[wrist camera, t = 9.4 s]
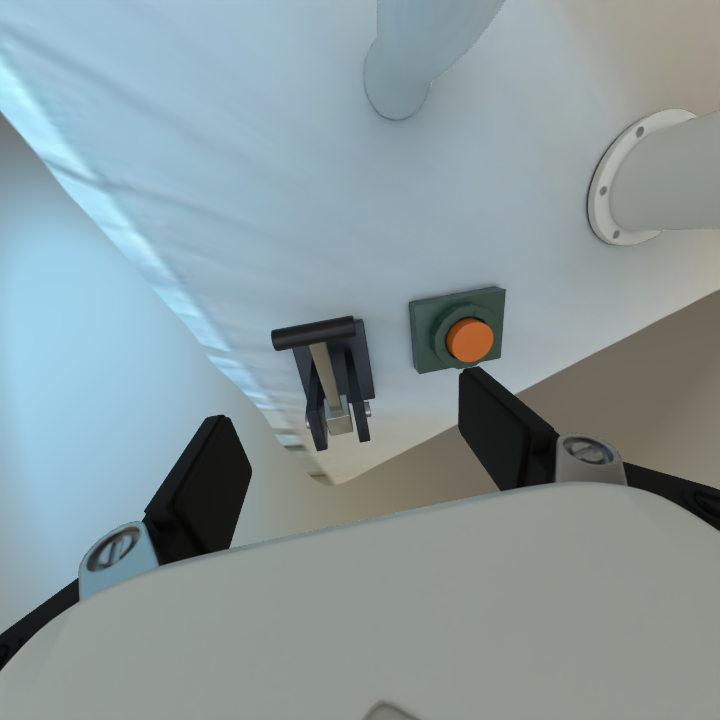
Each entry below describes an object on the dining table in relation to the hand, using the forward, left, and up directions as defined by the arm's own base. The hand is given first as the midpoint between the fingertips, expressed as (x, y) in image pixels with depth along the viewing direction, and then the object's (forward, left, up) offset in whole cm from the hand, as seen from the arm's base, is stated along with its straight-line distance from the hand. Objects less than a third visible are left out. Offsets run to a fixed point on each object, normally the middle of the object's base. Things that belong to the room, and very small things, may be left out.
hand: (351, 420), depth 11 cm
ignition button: (-14, +6, -19) cm, 25 cm away
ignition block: (-14, +6, -23) cm, 28 cm away
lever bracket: (+2, +8, -23) cm, 25 cm away
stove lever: (+2, +3, -12) cm, 12 cm away
